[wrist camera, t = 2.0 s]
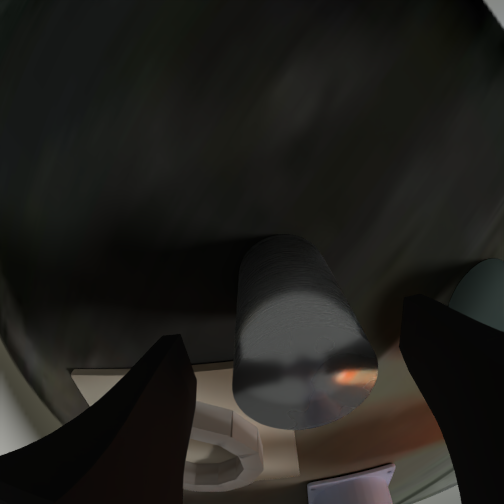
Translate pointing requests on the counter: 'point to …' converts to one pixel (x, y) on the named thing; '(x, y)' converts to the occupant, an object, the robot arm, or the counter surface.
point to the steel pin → (296, 339)
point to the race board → (213, 394)
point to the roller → (482, 294)
